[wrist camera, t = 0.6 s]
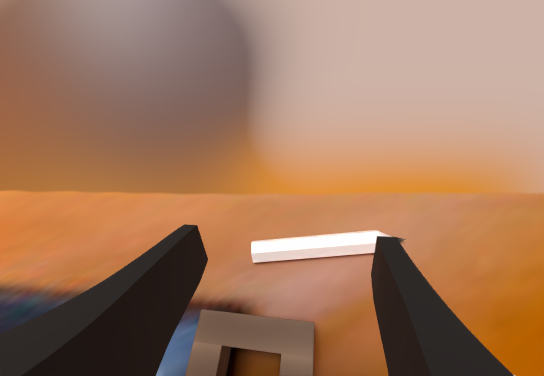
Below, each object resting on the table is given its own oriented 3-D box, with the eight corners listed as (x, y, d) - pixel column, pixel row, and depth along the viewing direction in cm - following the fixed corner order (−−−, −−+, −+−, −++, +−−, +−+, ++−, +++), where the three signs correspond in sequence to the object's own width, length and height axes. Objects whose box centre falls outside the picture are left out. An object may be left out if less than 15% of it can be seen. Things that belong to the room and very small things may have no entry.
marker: (401, 246, 28) (255, 259, 29) (399, 227, 28) (253, 240, 29) (412, 250, 25) (251, 264, 26) (409, 228, 25) (249, 243, 27)
